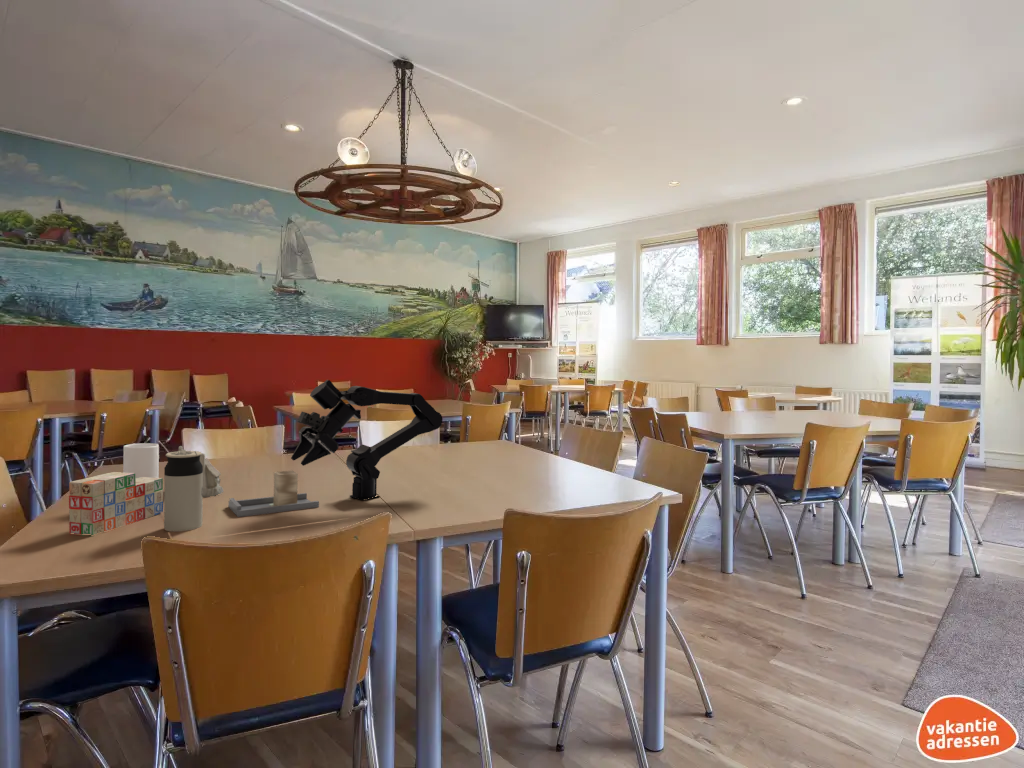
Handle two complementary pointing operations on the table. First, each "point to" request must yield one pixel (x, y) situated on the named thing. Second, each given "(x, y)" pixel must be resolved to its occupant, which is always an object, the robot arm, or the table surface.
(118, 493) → the stack of blocks
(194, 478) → the travel mug
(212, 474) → the ceramic cottage
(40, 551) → the table surface
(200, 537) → the table surface
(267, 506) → the tray
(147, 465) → the cup
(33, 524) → the table surface
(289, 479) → the maple block
